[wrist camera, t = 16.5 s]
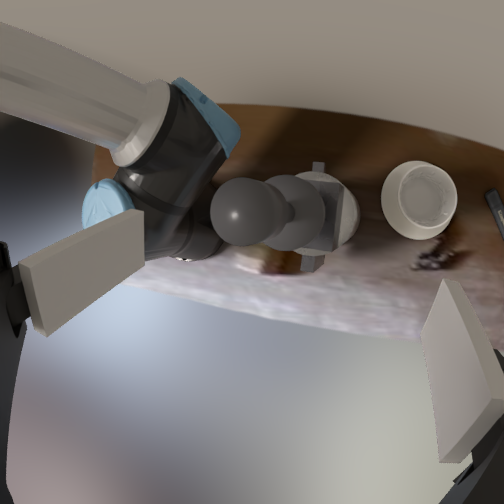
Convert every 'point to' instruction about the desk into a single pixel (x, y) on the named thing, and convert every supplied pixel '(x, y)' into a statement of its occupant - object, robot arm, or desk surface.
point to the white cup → (427, 196)
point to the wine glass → (268, 212)
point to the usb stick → (496, 208)
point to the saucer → (392, 208)
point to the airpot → (329, 217)
